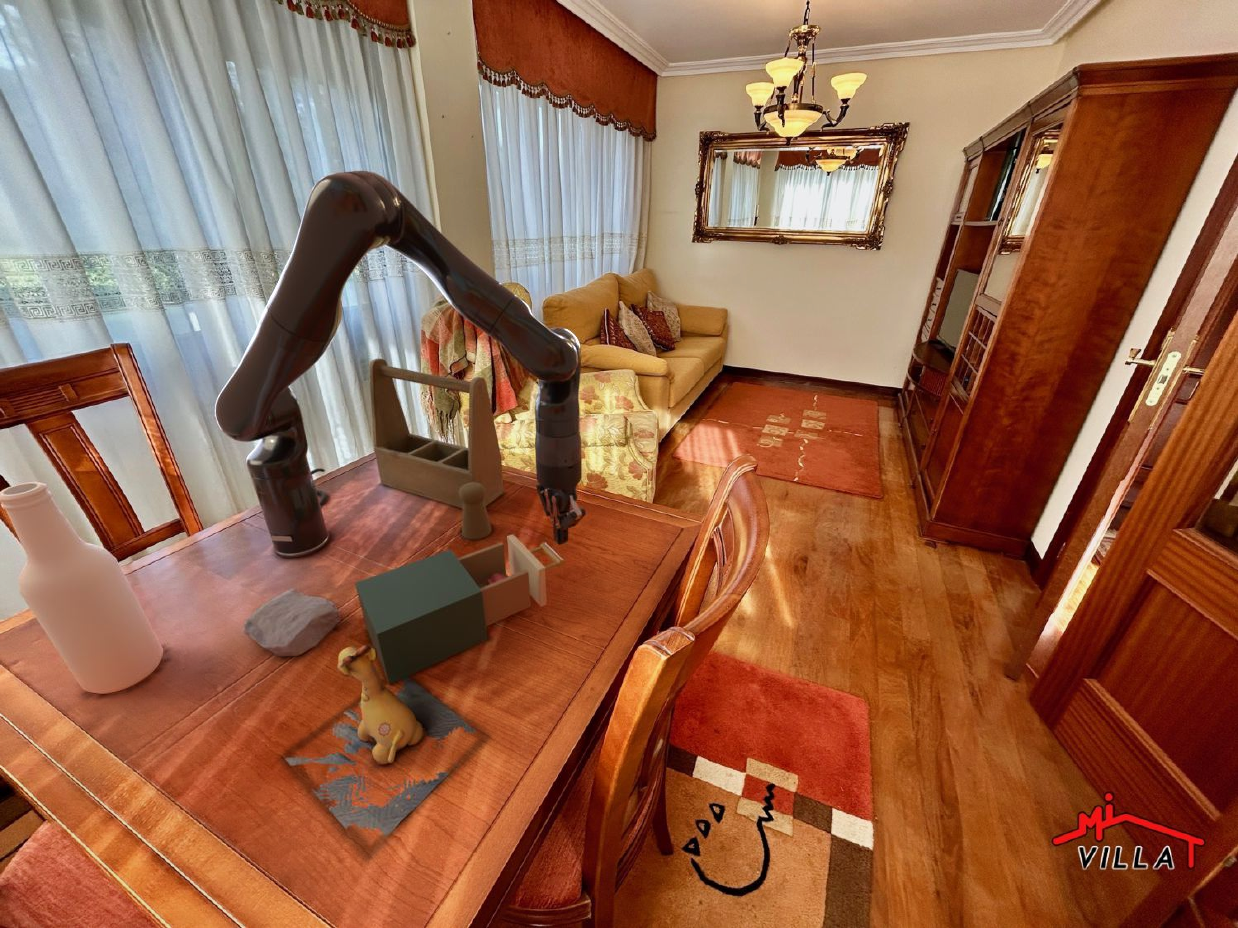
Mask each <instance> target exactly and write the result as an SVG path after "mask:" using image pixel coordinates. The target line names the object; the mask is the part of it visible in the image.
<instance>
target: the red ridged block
mask: <svg viewBox="0 0 1238 928" xmlns="http://www.w3.org/2000/svg"><path fill="white" fill-rule="evenodd" d="M504 578H506V577H505V576H504V575H503V574H501V575H500V574H498V573H495V574H493V575H492V578H491V579H488V580H487V585H490V584H492V583H494V582H497V581H499V580H502V579H504Z"/></svg>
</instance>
